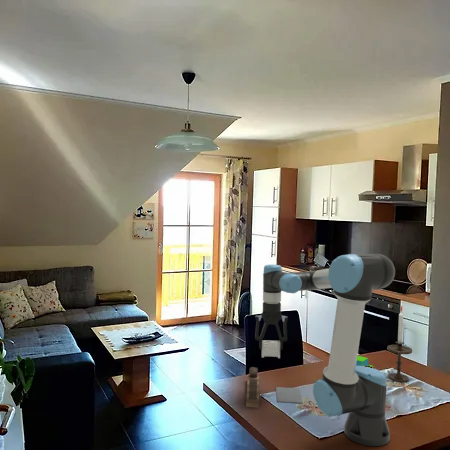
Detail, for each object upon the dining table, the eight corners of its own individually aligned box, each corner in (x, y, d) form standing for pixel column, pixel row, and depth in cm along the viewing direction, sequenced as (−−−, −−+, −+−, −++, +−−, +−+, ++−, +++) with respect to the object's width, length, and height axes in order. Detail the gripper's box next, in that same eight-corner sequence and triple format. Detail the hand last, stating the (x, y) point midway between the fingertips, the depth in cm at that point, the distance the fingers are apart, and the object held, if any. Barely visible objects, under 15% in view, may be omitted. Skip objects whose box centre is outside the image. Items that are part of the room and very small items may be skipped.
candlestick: (411, 384, 198) (414, 308, 197) (386, 380, 202) (389, 305, 201) (410, 376, 208) (413, 303, 207) (386, 372, 212) (389, 301, 211)
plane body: (258, 407, 171) (259, 382, 171) (246, 406, 172) (246, 381, 171) (258, 381, 197) (259, 359, 197) (247, 381, 197) (248, 359, 197)
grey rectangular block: (278, 356, 178) (278, 346, 178) (263, 356, 178) (264, 346, 178) (277, 349, 187) (277, 340, 187) (263, 349, 187) (263, 340, 187)
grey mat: (302, 403, 176) (302, 402, 176) (277, 402, 177) (277, 401, 177) (299, 389, 190) (299, 388, 190) (276, 388, 191) (276, 387, 191)
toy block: (375, 376, 208) (376, 355, 207) (363, 383, 198) (364, 362, 198) (355, 370, 215) (356, 350, 214) (342, 377, 205) (343, 356, 205)
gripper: (293, 300, 185) (292, 354, 186) (249, 299, 186) (247, 353, 187) (295, 304, 178) (294, 360, 178) (249, 303, 179) (248, 359, 179)
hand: (270, 356), depth 183 cm, fingers closed on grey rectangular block, 6 cm apart
